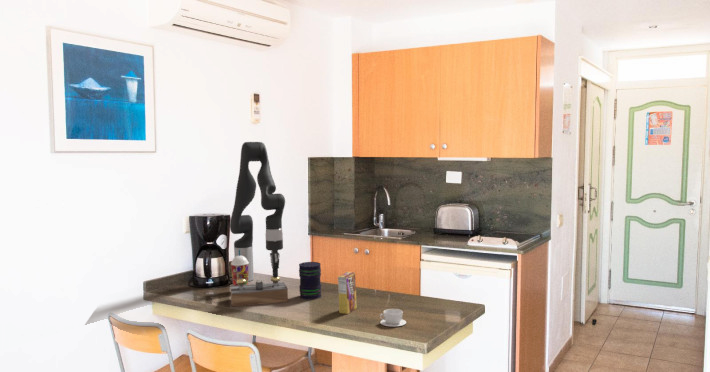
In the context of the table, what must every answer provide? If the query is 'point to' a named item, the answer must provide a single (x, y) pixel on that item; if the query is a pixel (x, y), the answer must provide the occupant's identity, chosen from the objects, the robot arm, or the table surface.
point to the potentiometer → (259, 285)
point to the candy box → (347, 292)
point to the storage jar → (310, 280)
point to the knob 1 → (241, 283)
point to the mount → (259, 294)
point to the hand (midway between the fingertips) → (275, 277)
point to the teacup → (392, 318)
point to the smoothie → (240, 269)
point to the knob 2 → (275, 280)
